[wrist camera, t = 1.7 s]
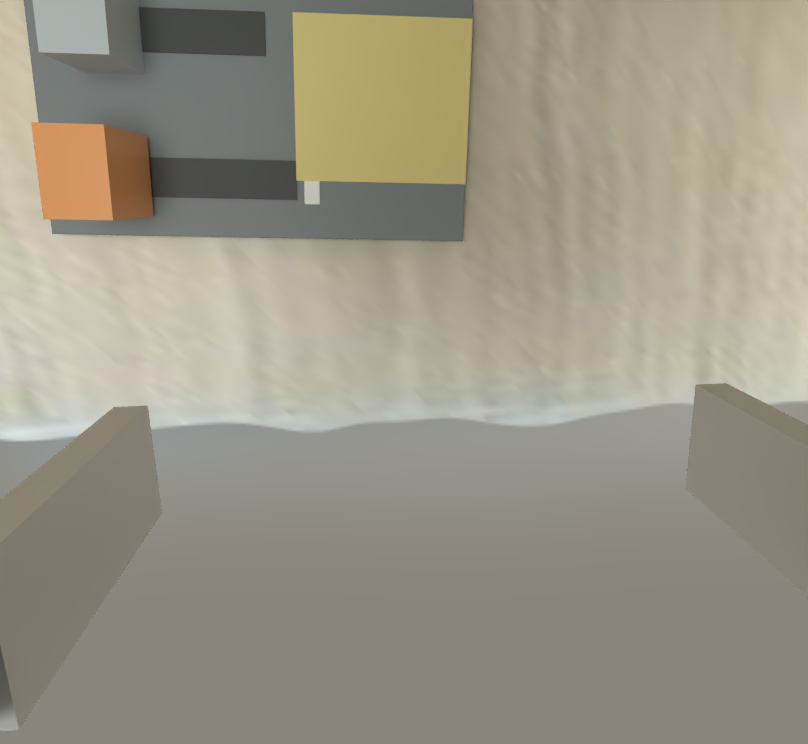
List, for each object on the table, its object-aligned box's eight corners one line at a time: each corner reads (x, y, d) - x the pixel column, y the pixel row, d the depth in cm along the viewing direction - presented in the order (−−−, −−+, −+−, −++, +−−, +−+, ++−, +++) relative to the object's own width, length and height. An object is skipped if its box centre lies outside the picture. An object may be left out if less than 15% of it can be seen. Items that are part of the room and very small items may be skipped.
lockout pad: (292, 12, 32) (292, 12, 32) (472, 19, 32) (472, 18, 32) (296, 180, 34) (296, 180, 34) (464, 184, 34) (465, 184, 34)
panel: (33, -12, 32) (-36, -56, 26) (469, 4, 33) (489, -34, 28) (62, 232, 35) (5, 239, 30) (459, 239, 36) (475, 247, 31)
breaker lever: (86, 134, 32) (31, 122, 27) (147, 136, 32) (103, 124, 27) (95, 215, 33) (43, 219, 28) (153, 216, 34) (113, 220, 28)
